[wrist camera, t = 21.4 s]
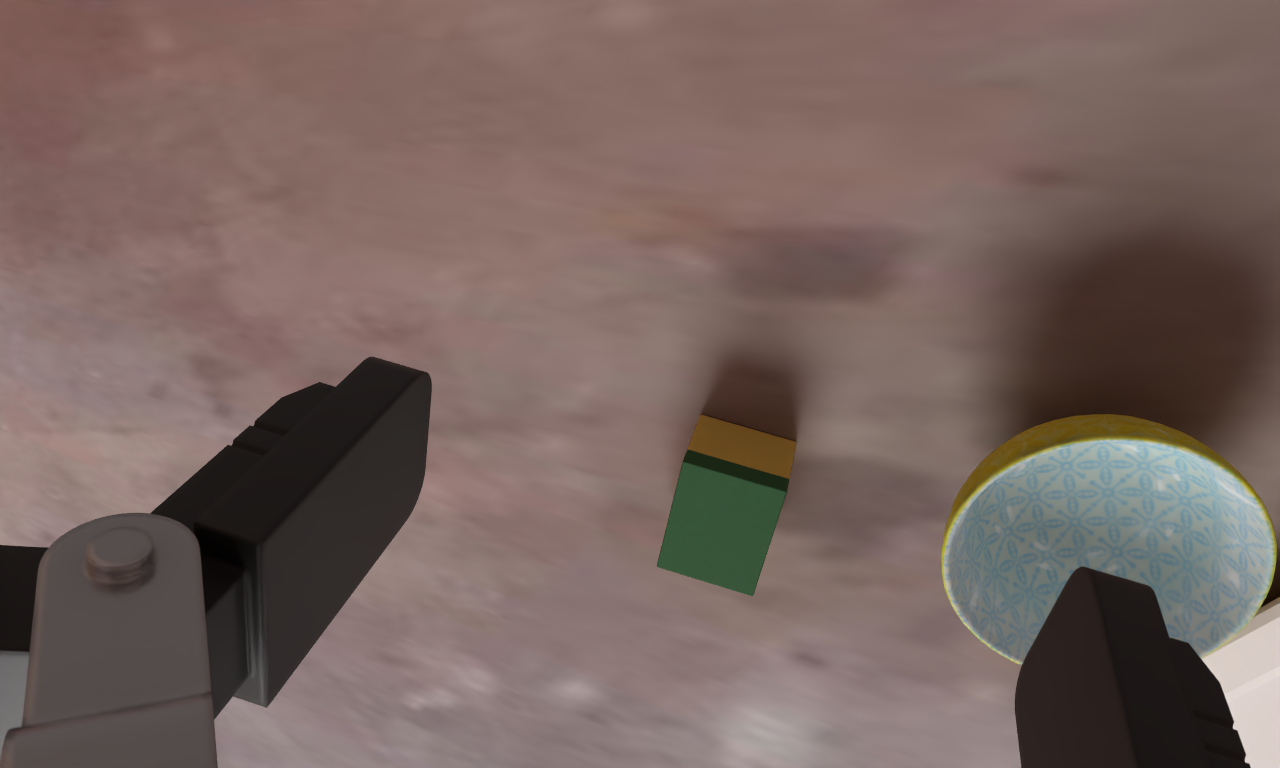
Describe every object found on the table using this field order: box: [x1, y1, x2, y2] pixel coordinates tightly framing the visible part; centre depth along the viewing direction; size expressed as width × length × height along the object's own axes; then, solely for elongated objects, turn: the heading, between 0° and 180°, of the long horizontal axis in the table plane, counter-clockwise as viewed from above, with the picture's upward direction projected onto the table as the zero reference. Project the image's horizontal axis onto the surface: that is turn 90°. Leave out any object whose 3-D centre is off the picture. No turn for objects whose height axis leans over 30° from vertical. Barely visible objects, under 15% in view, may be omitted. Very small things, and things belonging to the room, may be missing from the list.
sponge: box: [657, 415, 796, 596], centre depth 44 cm, size 6×4×4 cm
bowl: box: [941, 414, 1277, 665], centre depth 39 cm, size 11×12×6 cm
